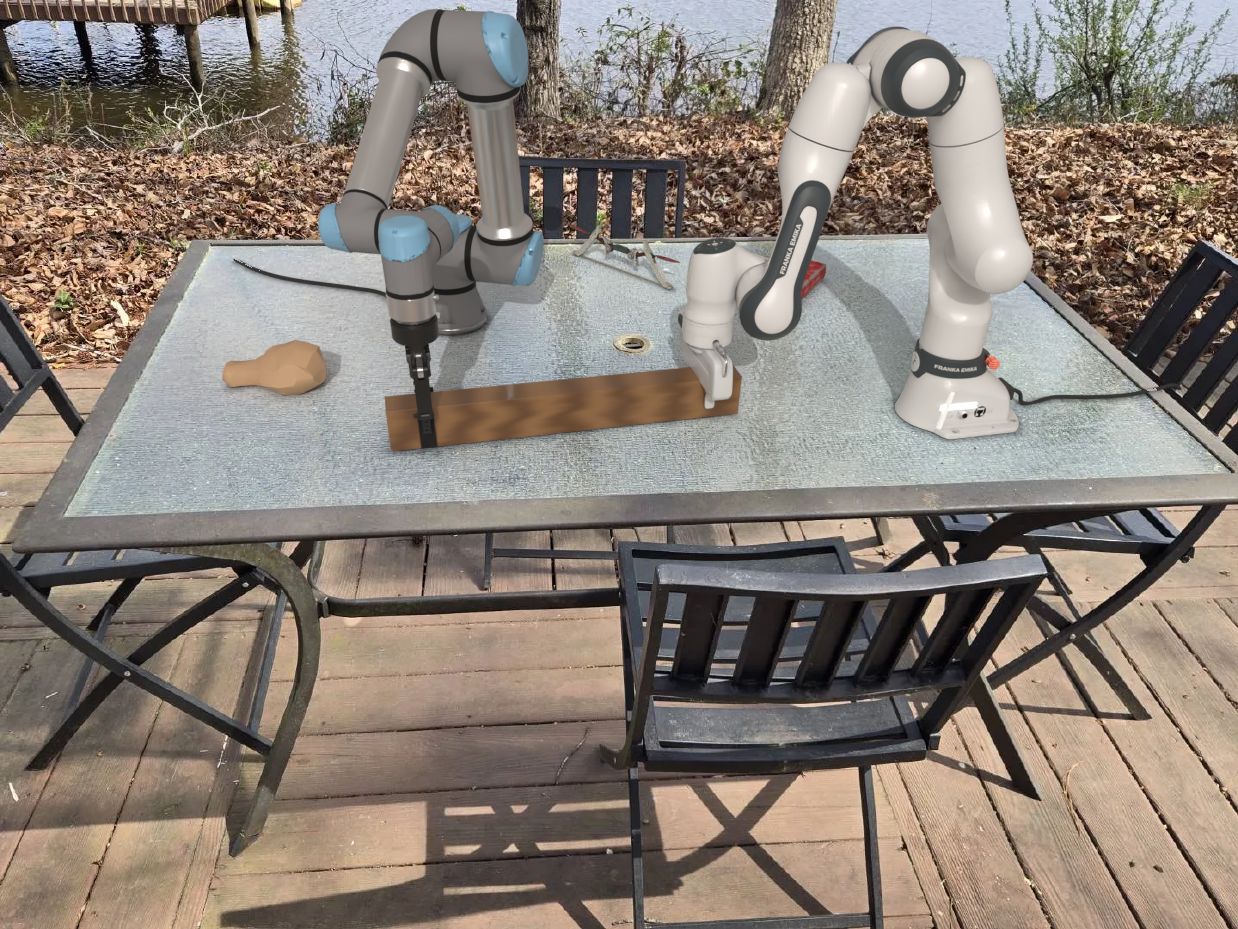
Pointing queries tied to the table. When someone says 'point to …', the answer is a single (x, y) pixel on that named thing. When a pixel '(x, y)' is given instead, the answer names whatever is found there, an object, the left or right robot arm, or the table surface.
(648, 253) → the bow
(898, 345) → the table surface
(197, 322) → the table surface
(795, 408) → the table surface
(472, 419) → the post
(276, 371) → the squash
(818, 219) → the right robot arm
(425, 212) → the left robot arm
